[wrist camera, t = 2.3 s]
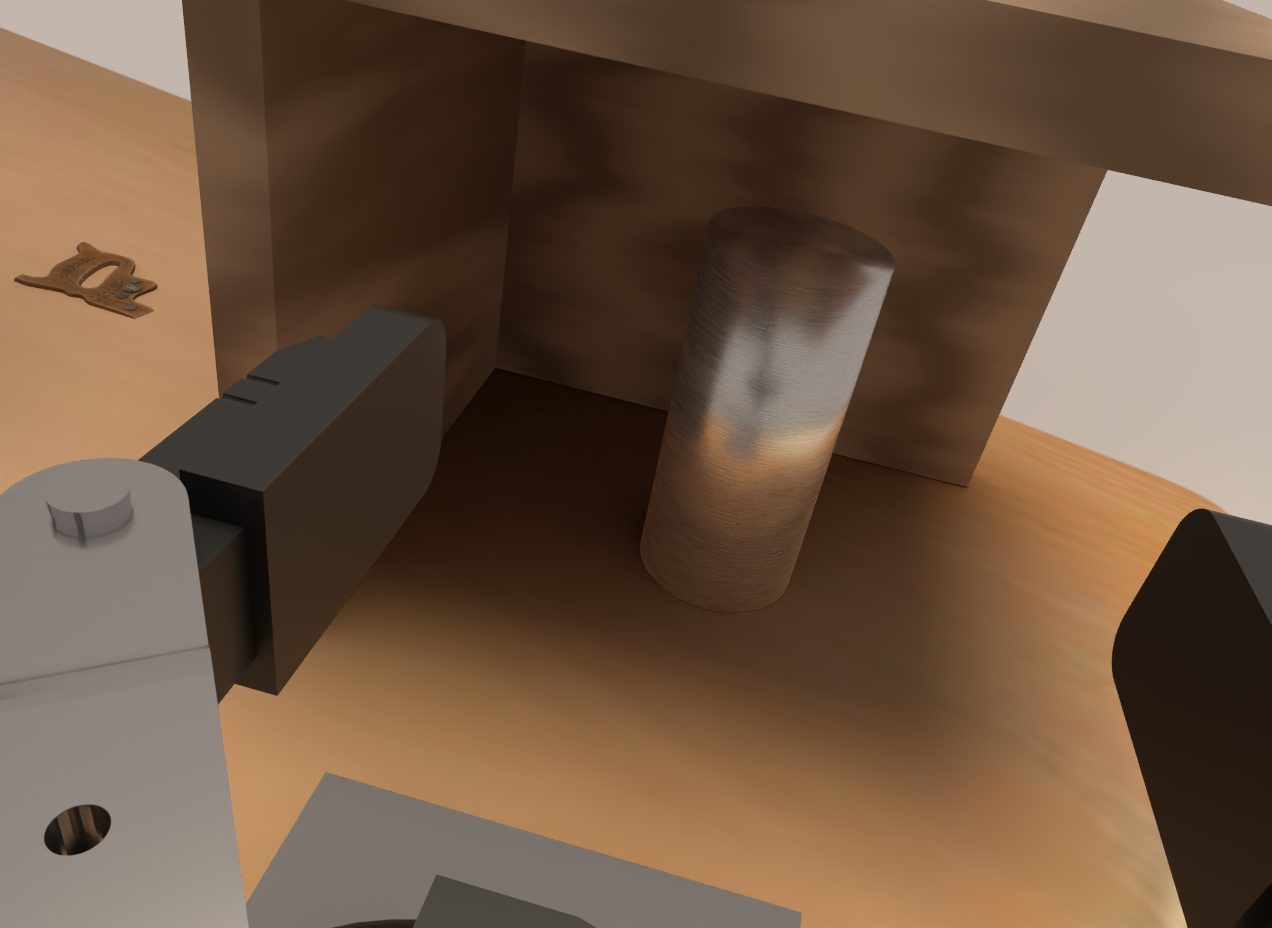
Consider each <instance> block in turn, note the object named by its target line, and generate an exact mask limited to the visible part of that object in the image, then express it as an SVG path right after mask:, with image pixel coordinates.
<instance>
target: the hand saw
mask: <svg viewBox="0 0 1272 928" xmlns="http://www.w3.org/2000/svg"><path fill="white" fill-rule="evenodd" d="M77 250H78V252H79V254H78V255H76V256H74V257H72V258H69V259H67V260H65V261H63V262H61V263H59V264H57V265H56V266H55V267H54V268H53V269H52V270H51V271H50V273H49V275H48V276H47V277H31V276H27V275H20V276H17V277H16V278H15V281H16V282H18V283H21V284H23V285H27V286H31V287H36V288H41V289H47V290H52V291H57V292H62V293H65V294H67V295H68V296H70V297H79V298H82V299H84V300H85V301H86V302H87V303H88V304H89V305H92V306H95V307H98V308H102V309H105V310H108V311H111V312H115V313H118V314H121V315H124V316H127V317H130V318H134V319H136V318H138V317H141V316H143V315H145V314H148V313H150V312H153V311H154V310H153V309H152V308H150V307H148V306H146V305H143V304H140V303H137V302H135V301H134V299H135V298H137V297H139V296H141V295H143V294H146V293H148V292H151V291H153V290H155V289H157V284H156V283H155V282H153V281H150V280H146V279H141V278H137V277H134V276H132V274H133V272H134V270H135V262H134V260H132V259H130V258H127V257H124V256H120V255H115V254H110V253H106V252H102V251H99V250H97V249H96V248H94V247H93V246H91V245H90V244H88V243H85V242H82V243H80V244H79V245H78V246H77ZM111 265H115V266H119V267H117V268H116V269H115V270H113V271H112V272H111V273H110V274H109V275H108V276H107V277H106V279H105V280H104V282H103V283H102V284H101V285H100V286H98V287H95V288H84V287H81V284H82V283H83V282H84V281H85V280H86V279H87V278H88V277H89V276H90V275H92V274H93V273H95V272H96V271H98V270H100V269H102V268H104V267H107V266H111Z"/></svg>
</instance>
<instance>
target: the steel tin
mask: <svg viewBox="0 0 1272 928" xmlns="http://www.w3.org/2000/svg"><path fill="white" fill-rule="evenodd" d="M894 269H895V260H894V258H893V256H892V254H891V253H890V252H889V251H888V250H887V249H886V248H885V247H884V246H883V245H882V244H880V243H879V242H878V241H876V240H875V239H873V238H871V237H870V236H868V235H866V234H864V233H862V232H861V231H858V230H856V229H854V228H852V227H850V226H847V225H844V224H842V223H839V222H836V221H833V220H831V219H827V218H824V217H821V216H817V215H813V214H809V213H805V212H800V211H795V210H789V209H782V208H774V207H758V206H749V207H736V208H731V209H726V210H723V211H720V212H718V213H716V214H715V215H714V216H712V218H711V219H710V221H709V226H708V230H707V235H706V240H705V244H704V249H703V254H702V258H701V263H700V268H699V272H698V277H697V282H696V286H695V291H694V296H693V300H692V305H691V310H690V314H689V319H688V324H687V328H686V333H685V338H684V342H683V347H682V352H681V356H680V361H679V366H678V370H677V375H676V380H675V384H674V389H673V394H672V398H671V403H670V408H669V412H668V417H667V422H666V426H665V431H664V436H663V440H662V445H661V450H660V454H659V459H658V464H657V468H656V473H655V478H654V482H653V487H652V492H651V496H650V501H649V506H648V511H647V515H646V520H645V525H644V529H643V534H642V539H641V543H640V555H641V560H642V562H643V565H644V567H645V568H646V570H647V572H648V573H649V575H650V576H651V577H652V578H653V579H654V580H655V581H656V582H657V583H658V584H659V585H660V586H661V587H662V588H663V589H665V590H666V591H667V592H669V593H670V594H672V595H674V596H675V597H677V598H679V599H681V600H683V601H685V602H687V603H690V604H692V605H695V606H698V607H701V608H705V609H709V610H714V611H721V612H747V611H753V610H757V609H760V608H763V607H766V606H768V605H770V604H772V603H773V602H775V601H776V600H777V599H779V598H780V597H781V596H782V595H783V593H784V592H785V591H786V588H787V586H788V584H789V581H790V578H791V575H792V572H793V569H794V566H795V563H796V560H797V557H798V554H799V551H800V548H801V545H802V542H803V539H804V536H805V533H806V530H807V527H808V524H809V521H810V518H811V516H812V513H813V510H814V507H815V504H816V501H817V498H818V495H819V492H820V489H821V486H822V483H823V480H824V477H825V474H826V471H827V468H828V465H829V462H830V459H831V456H832V453H833V450H834V447H835V444H836V441H837V438H838V435H839V432H840V429H841V426H842V423H843V420H844V417H845V414H846V411H847V408H848V405H849V403H850V400H851V397H852V394H853V391H854V388H855V385H856V382H857V379H858V376H859V373H860V370H861V367H862V364H863V361H864V358H865V355H866V352H867V349H868V346H869V343H870V340H871V337H872V334H873V331H874V328H875V325H876V322H877V319H878V316H879V313H880V310H881V307H882V304H883V301H884V298H885V295H886V293H887V290H888V287H889V284H890V281H891V278H892V275H893V272H894Z"/></svg>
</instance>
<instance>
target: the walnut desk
mask: <svg viewBox="0 0 1272 928" xmlns="http://www.w3.org/2000/svg"><path fill="white" fill-rule="evenodd" d="M182 5H183V15H184V26H185V37H186V48H187V58H188V69H189V80H190V90H191V101H192V112H193V123H194V133H195V144H196V155H197V165H198V176H199V187H200V198H201V208H202V219H203V230H204V240H205V251H206V262H207V272H208V283H209V294H210V305H211V315H212V326H213V337H214V347H215V358H216V369H217V379H218V390H219V399H222V396H223V393H224V392H225V391H226V390H227V389H229V388H230V387H231V386H233V385H234V384H235V383H236V382H238V381H239V380H240V379H245V380H246V378H247V374H248V373H249V372H250V371H251V370H253V369H254V368H255V367H257V366H258V365H259V364H260V363H262V362H263V361H264V360H265V359H267V358H268V357H269V356H270V355H272V354H273V353H274V352H276V351H278V350H280V349H283V348H286V347H289V346H292V345H294V344H297V343H300V342H303V341H306V340H308V339H311V338H314V337H317V336H322V337H326V338H330V339H332V338H334V337H335V336H336V335H337V334H338V333H340V332H341V331H342V330H343V329H344V328H345V327H347V326H348V325H349V324H350V323H351V322H352V321H354V320H355V319H356V318H357V317H358V316H360V315H361V314H362V313H363V312H364V311H365V310H367V309H368V308H369V307H371V306H373V305H379V306H384V307H388V308H392V309H396V310H400V311H404V312H408V313H412V314H416V315H420V316H425V317H429V318H433V319H437V320H440V321H441V322H442V323H443V324H444V327H445V331H446V362H445V381H444V399H443V418H442V436H441V440H442V438H443V437H444V436H445V434H446V433H447V432H448V430H449V429H450V428H451V426H452V425H453V424H454V422H455V421H456V420H457V418H458V417H459V416H460V414H461V413H462V412H463V410H464V409H465V408H466V406H467V405H468V404H469V402H470V401H471V400H472V398H473V397H474V396H475V394H476V393H477V392H478V390H479V389H480V388H481V386H482V385H483V384H484V382H485V381H486V380H487V378H488V377H489V376H490V374H491V373H492V372H493V371H494V369H495V368H498V369H502V370H506V371H510V372H514V373H518V374H522V375H526V376H530V377H534V378H538V379H542V380H546V381H549V382H553V383H557V384H561V385H565V386H569V387H573V388H577V389H581V390H585V391H589V392H593V393H597V394H601V395H605V396H609V397H613V398H617V399H621V400H625V401H629V402H632V403H636V404H640V405H644V406H648V407H652V408H656V409H660V410H664V411H668V412H669V408H670V403H671V398H672V394H673V389H674V384H675V380H676V375H677V370H678V366H679V361H680V356H681V352H682V347H683V342H684V338H685V333H686V328H687V324H688V319H689V314H690V310H691V305H692V300H693V296H694V291H695V286H696V282H697V277H698V272H699V268H700V263H701V258H702V254H703V249H704V244H705V240H706V235H707V230H708V226H709V221H710V219H711V218H712V216H714V215H715V214H716V213H718V212H720V211H723V210H726V209H731V208H736V207H749V206H758V207H774V208H782V209H789V210H795V211H800V212H805V213H809V214H813V215H817V216H821V217H824V218H827V219H831V220H833V221H836V222H839V223H842V224H844V225H847V226H850V227H852V228H854V229H856V230H858V231H861V232H862V233H864V234H866V235H868V236H870V237H871V238H873V239H875V240H876V241H878V242H879V243H880V244H882V245H883V246H884V247H885V248H886V249H887V250H888V251H889V252H890V253H891V254H892V256H893V258H894V260H895V269H894V272H893V275H892V278H891V281H890V284H889V287H888V290H887V293H886V295H885V298H884V301H883V304H882V307H881V310H880V313H879V316H878V319H877V322H876V325H875V328H874V331H873V334H872V337H871V340H870V343H869V346H868V349H867V352H866V355H865V358H864V361H863V364H862V367H861V370H860V373H859V376H858V379H857V382H856V385H855V388H854V391H853V394H852V397H851V400H850V403H849V405H848V408H847V411H846V414H845V417H844V420H843V423H842V426H841V429H840V432H839V435H838V438H837V441H836V444H835V447H834V450H833V453H834V454H838V455H842V456H846V457H850V458H854V459H858V460H862V461H866V462H870V463H874V464H877V465H881V466H885V467H889V468H893V469H897V470H901V471H905V472H909V473H913V474H917V475H921V476H925V477H929V478H933V479H937V480H941V481H945V482H949V483H953V484H956V485H960V486H964V487H967V486H968V484H969V482H970V479H971V477H972V475H973V473H974V470H975V468H976V466H977V464H978V461H979V459H980V457H981V455H982V452H983V450H984V448H985V446H986V443H987V441H988V439H989V437H990V434H991V432H992V430H993V428H994V425H995V423H996V421H997V418H998V416H999V414H1000V412H1001V409H1002V407H1003V405H1004V402H1005V400H1006V398H1007V396H1008V394H1009V391H1010V389H1011V387H1012V385H1013V382H1014V380H1015V378H1016V376H1017V373H1018V371H1019V369H1020V367H1021V364H1022V362H1023V360H1024V357H1025V355H1026V353H1027V351H1028V348H1029V346H1030V344H1031V341H1032V339H1033V337H1034V335H1035V333H1036V330H1037V328H1038V326H1039V324H1040V321H1041V319H1042V317H1043V315H1044V312H1045V310H1046V308H1047V306H1048V303H1049V301H1050V299H1051V296H1052V294H1053V292H1054V290H1055V287H1056V285H1057V283H1058V281H1059V278H1060V276H1061V274H1062V271H1063V269H1064V267H1065V265H1066V262H1067V260H1068V258H1069V256H1070V254H1071V251H1072V249H1073V247H1074V244H1075V242H1076V240H1077V238H1078V235H1079V233H1080V231H1081V229H1082V226H1083V224H1084V222H1085V219H1086V217H1087V215H1088V213H1089V211H1090V208H1091V206H1092V204H1093V201H1094V199H1095V197H1096V195H1097V193H1098V190H1099V188H1100V186H1101V183H1102V181H1103V179H1104V177H1105V174H1106V172H1107V170H1111V171H1116V172H1120V173H1125V174H1129V175H1134V176H1139V177H1143V178H1148V179H1152V180H1157V181H1161V182H1166V183H1170V184H1174V185H1179V186H1184V187H1189V188H1192V189H1197V190H1201V191H1206V192H1211V193H1215V194H1220V195H1224V196H1229V197H1233V198H1238V199H1242V200H1247V201H1251V202H1256V203H1260V204H1265V205H1269V206H1272V19H1269V18H1267V17H1264V16H1262V15H1259V14H1257V13H1254V12H1251V11H1249V10H1246V9H1244V8H1241V7H1238V6H1236V5H1233V4H1230V3H1228V2H1225V1H1223V0H182Z"/></svg>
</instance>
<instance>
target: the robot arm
mask: <svg viewBox="0 0 1272 928" xmlns="http://www.w3.org/2000/svg"><path fill="white" fill-rule="evenodd" d="M445 362H446V331H445V327H444V324H443V323H442V322H441V321H440V320H437V319H433V318H429V317H425V316H420V315H416V314H412V313H408V312H404V311H400V310H396V309H392V308H388V307H384V306H379V305H373V306H371V307H369V308H368V309H367V310H365V311H364V312H363V313H362V314H361V315H360V316H358V317H357V318H356V319H355V320H354V321H352V322H351V323H350V324H349V325H348V326H347V327H345V328H344V329H343V330H342V331H341V332H340V333H338V334H337V335H336V336H335V337H334V338H332V339H330V338H326V337H322V336H317V337H314V338H311V339H308V340H306V341H303V342H300V343H297V344H294V345H292V346H289V347H286V348H283V349H280V350H278V351H276V352H274V353H273V354H272V355H270V356H269V357H268V358H267V359H265V360H264V361H263V362H262V363H260V364H259V365H258V366H257V367H255V368H254V369H253V370H251V371H250V372H249V373H248V374H247V378H246V380H245V379H240V380H239V381H238V382H236V383H235V384H234V385H233V386H231V387H230V388H229V389H227V390H226V391H225V392H224V393H223V396H222V399H218V398H216V399H215V400H214V401H212V402H211V403H210V404H208V405H207V406H206V407H205V408H203V409H202V410H201V411H200V412H198V413H197V414H196V415H195V416H193V417H192V418H191V419H190V420H188V421H187V422H186V423H184V424H183V425H182V426H181V427H179V428H178V429H177V430H176V431H174V432H173V433H172V434H171V435H169V436H168V437H167V438H165V439H164V440H163V441H162V442H160V443H159V444H158V445H157V446H155V447H154V448H153V449H152V450H150V451H149V452H148V453H147V454H145V455H144V456H143V457H141V458H140V459H139V460H130V459H119V458H101V459H88V460H81V461H74V462H69V463H65V464H61V465H57V466H54V467H51V468H47V469H44V470H42V471H39V472H37V473H35V474H32V475H30V476H28V477H26V478H24V479H22V480H21V481H19V482H17V483H15V484H14V485H13V486H11V487H10V488H9V489H7V490H6V491H5V492H3V493H2V494H1V496H0V928H249V926H248V919H247V912H246V904H245V897H244V890H243V883H242V875H241V868H240V861H239V854H238V847H237V839H236V832H235V825H234V818H233V811H232V803H231V796H230V789H229V782H228V775H227V767H226V760H225V753H224V746H223V739H222V731H221V724H220V717H219V710H218V704H219V703H220V701H221V700H222V699H223V698H224V696H225V695H226V694H227V693H228V691H229V690H230V689H231V688H232V686H233V685H234V684H238V685H241V686H245V687H248V688H252V689H255V690H259V691H262V692H266V693H269V694H273V695H276V696H278V694H279V693H280V692H281V690H282V689H283V687H284V686H285V685H286V683H287V682H288V681H289V679H290V678H291V676H292V675H293V674H294V672H295V671H296V670H297V668H298V667H299V666H300V664H301V663H302V661H303V660H304V659H305V657H306V656H307V655H308V653H309V652H310V650H311V649H312V648H313V646H314V645H315V644H316V642H317V641H318V640H319V638H320V637H321V635H322V634H323V633H324V631H325V630H326V629H327V627H328V626H329V624H330V623H331V622H332V620H333V619H334V618H335V616H336V615H337V613H338V612H339V611H340V609H341V608H342V607H343V605H344V604H345V603H346V601H347V600H348V598H349V597H350V596H351V594H352V593H353V592H354V590H355V589H356V587H357V586H358V585H359V583H360V582H361V581H362V579H363V578H364V577H365V575H366V574H367V572H368V571H369V570H370V568H371V567H372V566H373V564H374V563H375V561H376V560H377V559H378V557H379V556H380V555H381V553H382V552H383V550H384V549H385V548H386V546H387V545H388V544H389V542H390V541H391V540H392V538H393V537H394V535H395V534H396V533H397V531H398V530H399V529H400V527H401V526H402V524H403V523H404V522H405V520H406V519H407V518H408V516H409V515H410V514H411V512H412V511H413V509H414V508H415V507H416V505H417V504H418V503H419V501H420V500H421V498H422V497H423V496H424V494H425V493H426V491H427V489H428V487H429V485H430V483H431V480H432V478H433V475H434V472H435V469H436V466H437V462H438V458H439V453H440V447H441V436H442V418H443V399H444V381H445ZM1112 673H1113V678H1114V682H1115V685H1116V689H1117V692H1118V695H1119V699H1120V702H1121V706H1122V709H1123V712H1124V716H1125V719H1126V722H1127V726H1128V729H1129V732H1130V736H1131V739H1132V742H1133V746H1134V749H1135V753H1136V756H1137V759H1138V763H1139V766H1140V769H1141V773H1142V776H1143V779H1144V783H1145V786H1146V789H1147V793H1148V796H1149V799H1150V803H1151V806H1152V810H1153V813H1154V816H1155V820H1156V823H1157V826H1158V830H1159V833H1160V836H1161V840H1162V843H1163V846H1164V850H1165V853H1166V857H1167V860H1168V863H1169V867H1170V870H1171V873H1172V877H1173V880H1174V883H1175V887H1176V890H1177V893H1178V897H1179V900H1180V904H1181V907H1182V910H1183V914H1184V917H1185V920H1186V924H1187V927H1188V928H1272V525H1268V524H1264V523H1260V522H1256V521H1252V520H1248V519H1244V518H1240V517H1236V516H1232V515H1228V514H1223V513H1219V512H1215V511H1211V510H1207V509H1196V510H1194V511H1192V512H1190V513H1189V514H1188V515H1187V516H1185V517H1184V519H1183V520H1182V521H1181V522H1180V523H1179V525H1178V526H1177V528H1176V530H1175V531H1174V533H1173V535H1172V536H1171V538H1170V540H1169V541H1168V543H1167V545H1166V546H1165V548H1164V550H1163V551H1162V553H1161V555H1160V556H1159V558H1158V560H1157V561H1156V563H1155V565H1154V567H1153V568H1152V570H1151V572H1150V573H1149V575H1148V577H1147V578H1146V580H1145V582H1144V583H1143V585H1142V587H1141V588H1140V590H1139V592H1138V593H1137V595H1136V597H1135V598H1134V600H1133V602H1132V604H1131V605H1130V607H1129V609H1128V610H1127V612H1126V614H1125V615H1124V617H1123V619H1122V621H1121V623H1120V625H1119V628H1118V631H1117V634H1116V637H1115V641H1114V646H1113V652H1112ZM332 928H596V927H594V926H593V925H591V924H589V923H588V922H586V921H584V920H583V919H581V918H579V917H577V916H574V915H570V914H567V913H564V912H560V911H557V910H554V909H550V908H547V907H544V906H540V905H537V904H534V903H530V902H527V901H524V900H520V899H517V898H514V897H510V896H507V895H504V894H500V893H497V892H494V891H490V890H487V889H484V888H480V887H477V886H474V885H470V884H467V883H464V882H460V881H457V880H454V879H450V878H447V877H444V876H440V875H437V874H436V876H435V879H434V881H433V883H432V885H431V888H430V890H429V892H428V894H427V897H426V899H425V901H424V904H423V906H422V908H421V910H420V913H419V915H418V917H417V919H389V920H378V921H367V922H357V923H351V924H347V925H342V926H337V927H332Z"/></svg>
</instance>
